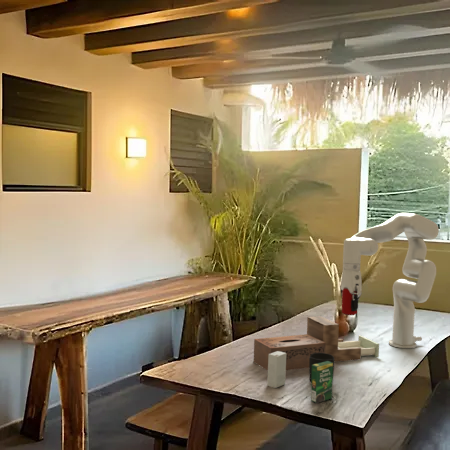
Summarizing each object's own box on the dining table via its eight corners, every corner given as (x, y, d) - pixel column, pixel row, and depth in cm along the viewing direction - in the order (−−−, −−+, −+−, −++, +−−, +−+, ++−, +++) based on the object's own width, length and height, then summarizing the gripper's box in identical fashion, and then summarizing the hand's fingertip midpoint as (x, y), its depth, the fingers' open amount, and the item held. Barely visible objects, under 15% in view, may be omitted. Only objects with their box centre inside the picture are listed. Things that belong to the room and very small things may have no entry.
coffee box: (315, 404, 197) (317, 366, 196) (309, 401, 200) (311, 363, 199) (332, 399, 202) (334, 362, 201) (326, 397, 204) (328, 360, 203)
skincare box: (276, 381, 219) (277, 350, 218) (285, 384, 216) (287, 352, 215) (266, 385, 214) (267, 353, 213) (276, 388, 211) (277, 356, 210)
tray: (362, 347, 269) (362, 335, 268) (380, 356, 255) (381, 343, 254) (326, 350, 262) (326, 337, 262) (343, 359, 248) (343, 346, 248)
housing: (341, 349, 266) (343, 315, 265) (360, 359, 251) (362, 323, 250) (306, 352, 260) (307, 316, 259) (323, 362, 245) (324, 325, 244)
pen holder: (338, 384, 218) (339, 357, 218) (320, 388, 213) (321, 361, 213) (321, 376, 226) (322, 351, 226) (303, 380, 221) (304, 354, 221)
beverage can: (357, 316, 252) (358, 288, 251) (341, 315, 253) (342, 288, 252) (356, 313, 258) (358, 286, 258) (341, 312, 260) (342, 285, 259)
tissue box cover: (270, 373, 230) (271, 348, 229) (253, 362, 243) (254, 339, 242) (324, 366, 241) (325, 342, 240) (306, 356, 254) (306, 334, 253)
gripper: (370, 269, 247) (368, 310, 249) (348, 264, 264) (346, 302, 265) (354, 270, 245) (353, 311, 246) (333, 264, 261) (332, 303, 262)
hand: (349, 306), depth 255 cm, fingers closed on beverage can, 6 cm apart
